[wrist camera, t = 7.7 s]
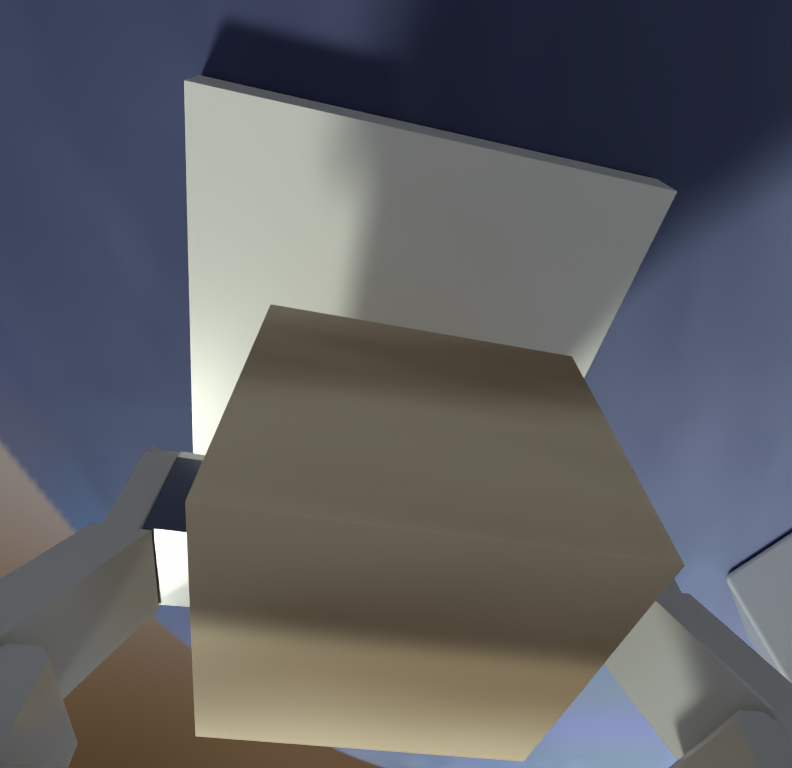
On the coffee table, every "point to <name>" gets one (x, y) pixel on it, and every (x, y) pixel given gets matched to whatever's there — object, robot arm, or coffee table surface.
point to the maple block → (410, 543)
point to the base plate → (393, 232)
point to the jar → (767, 603)
